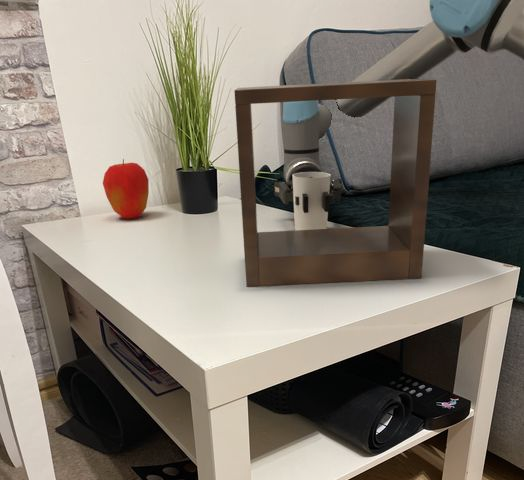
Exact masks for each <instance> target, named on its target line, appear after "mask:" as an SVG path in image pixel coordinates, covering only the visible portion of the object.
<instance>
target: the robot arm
mask: <svg viewBox="0 0 524 480" xmlns="http://www.w3.org/2000/svg"><path fill="white" fill-rule="evenodd" d="M429 12H430V16H431V19H432V20H431V21H430V22H428V23H427V24H426V25H425V26H424V27H423V28H421V29H420V30H418V31H417V32H416V33H415V34H413V35H412V36H410V37H409V38H407V39H406V40H405V41H404V42H403V43H401V44H400V45H398V46H397V47H396V48H395V49H393V50H392V51H390V52H389V53H387V55H385V56H384V57H382V58H381V59H380V60H379V61H377V62H376V63H374V64H373V65H372V66H371V67H369V68H368V69H366V70H365V71H364V72H363V73H361V74H359V76H357V77H356V78H355V79H353V80H352V81H351V82H361V81H381V80H400V79H421V78H422V77H423V76H425V75H427V74H428V73H430V72H431V71H432V70H434V69H435V68H436V67H438V66H439V65H441V64H442V63H444V62H445V61H447V60H448V59H449V58H451V57H453V56H454V55H455V54H457V53H458V54H459V53H460V54H467V53H468V52H470V51H471V50H472V49H474V48H476V47H477V48H478V49H480V50H482V51H484V52H485V53H487V54H489V55H493V54H497V53H498V52H501V51H506V52H508V53H510V54H511V55H513V56H515V57H517V58H519V59H520V60H522V61H524V0H429ZM391 98H392V97H376V98H356V99H337V102H336V103H337V106H338V109H339V110H340V111H342V112H343V113H345V114H346V115H348V116H351V117H354V118H355V117H362V116H364V117H365V116H366V114H367V115H368V114H369V113H371V112H372V111H374V110H375V109H377V108H378V107H380V106H382V105H383V104H384V103H386V102H387V101H388V100H390V99H391ZM282 104H283V106H282V131H283V133H282V134H283V157H284V158H283V163H284V165H283V179H284V181H283V182H282V181H274V196H275V197H279V199H280V200H281V201H282V203H283V204H284V205H286V206H287V205H290V204H292V202H293V203H294V199H293V177H292V175H293V174H296V173H302V172H323V171H322V170H321V168H320V140H319V139H320V138H322V137H323V136H324V135H325V133H326V132H327V130H328V128H329V127H330V125H331V120H332V114H331V112H330V110H329V109H328V108H327V107H326V106H324V105H321V103H320V102H319V100H317V101H297V102H282ZM362 118H363V117H362ZM342 193H343V178H340V177H339V178H336V179H332V180H331V182H330V189H329V194H328V192H323V209H324V211H325V212H328V213H330V205H332V204H334V202H335V203H339V202H340V203H341V201H342V198H341V197H342V196H341V195H342ZM302 201H303V212H304V213H308V195H307V194H302ZM295 205H299V197H296V196H295Z"/></svg>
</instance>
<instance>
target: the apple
mask: <svg viewBox="0 0 524 480" xmlns="http://www.w3.org/2000/svg"><path fill="white" fill-rule="evenodd" d="M149 185H150V184H149V178H148V175H147V172H146V170H145V169H144V168H143V167H142V166H141V165H140V164H139V163H137V162H125V159H124V158H123V159H122V163H117V164H113V165H110V166H108V168H107V169H106V171H105V172H104V175H103V180H102V186H103V189H104V192H105V196H106V199H107V200H108V203H109V204H110V206H111V208H112V210H113V212H114V213H116V214H117V215H118V216H120V217H121V218H122V219H128V220H129V219H131V220H133V219H138V218H140V217H141V216H142V214H143V213H144V211H145V210H146V209H147V205H148V198H149V193H150V192H149V189H150V188H149Z"/></svg>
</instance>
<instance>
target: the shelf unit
mask: <svg viewBox="0 0 524 480" xmlns="http://www.w3.org/2000/svg"><path fill="white" fill-rule="evenodd" d="M437 82H438V81H437V79H423V78H419V79H400V80H381V81H361V82H352V81H344V82H325V83H322V82H321V83H306V84H304V83H303V84H287V85H285V84H284V85H265V86H247V87H237V88H236V89H234V91H233V92H234V104H235V108H234V109H235V122H236V124H235V125H236V139H237V154H238V156H237V157H238V171H239V172H238V173H239V188H240V206H241V218H242V219H241V220H242V233H243V234H242V235H243V251H244V252H243V253H244V254H243V256H244V268H245V269H244V270H245V285H246V287H247V288H248V287H259V286H260V287H265V286H266V287H267V286H287V285H305V284H306V285H307V284H324V283H326V284H328V283H349V282H368V281H369V282H371V281H390V280H407V279H409V280H410V279H422V276H423V263H424V251H425V250H424V249H425V238H426V237H425V236H426V224H427V211H428V199H429V185H430V171H431V159H432V158H431V157H432V148H433V147H432V146H433V135H434V134H433V132H434V121H435V119H434V118H435V106H436V94H437ZM376 97H391V98H393V97H394V101H393V102H394V103H393V104H394V105H393V124H392V125H393V127H392V143H391V144H392V147H391V165H390V185H389V205H388V207H389V208H388V225H380V226H375V225H374V226H361V227H360V226H357V227H336V228H327V229H314V230H295V229H294V230H277V231H259V230H258V213H257V194H256V193H257V192H256V174H255V172H256V171H255V156H254V155H255V153H254V133H253V113H252V105H255V104H274V103H275V104H276V103H283V102H297V101H317V100H318V101H327V100H337V99H356V98H376Z"/></svg>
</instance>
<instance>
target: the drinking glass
mask: <svg viewBox="0 0 524 480" xmlns="http://www.w3.org/2000/svg"><path fill="white" fill-rule="evenodd" d="M292 177H293V199H294V202H293V217H294V218H293V219H294V230H314V229H328V218H329V212H325V211H324V209H323V192H328V194H329V189H330V183H331V173H328V172H323V171H322V172H302V173H296V174H293V175H292ZM302 194H307V195H308V213H304V212H303V201H302ZM295 196H296V197H299V205H295Z"/></svg>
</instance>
